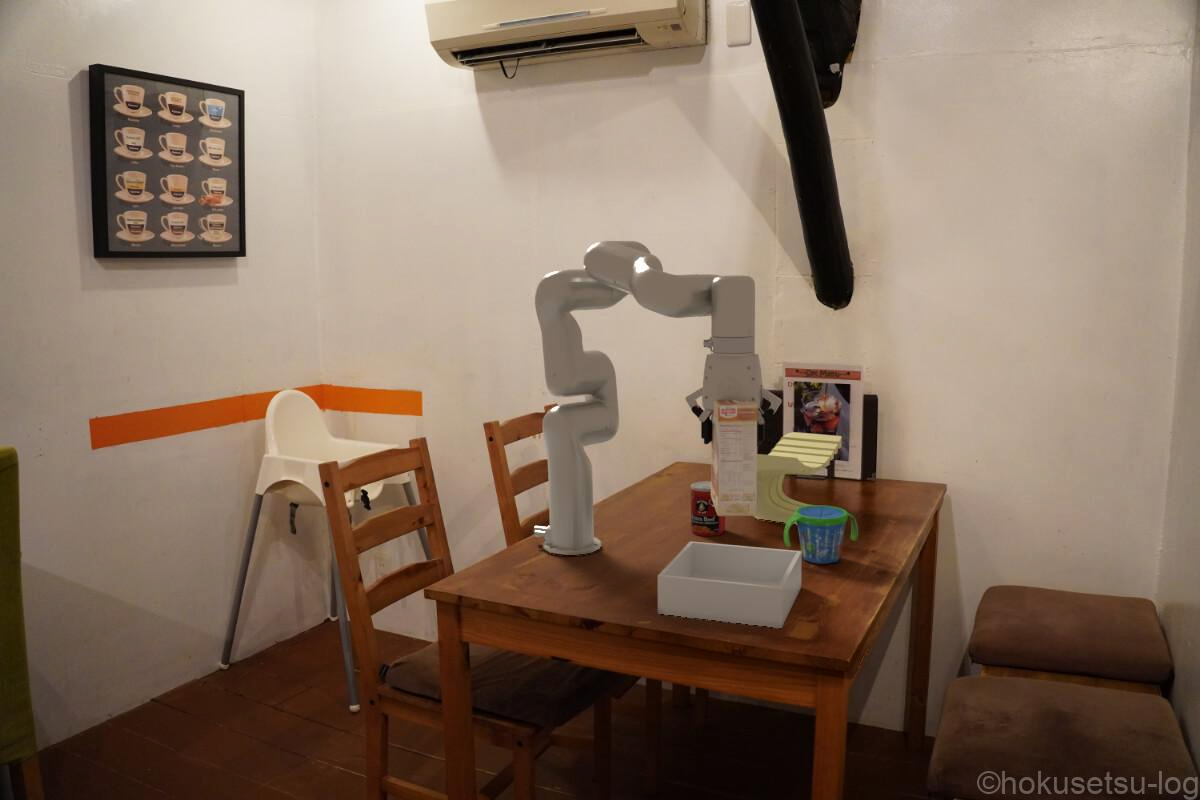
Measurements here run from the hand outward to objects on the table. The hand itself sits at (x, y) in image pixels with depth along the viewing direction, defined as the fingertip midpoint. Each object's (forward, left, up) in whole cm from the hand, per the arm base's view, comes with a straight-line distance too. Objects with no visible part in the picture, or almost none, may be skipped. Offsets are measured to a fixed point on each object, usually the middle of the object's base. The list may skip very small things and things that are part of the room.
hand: (732, 443), depth 167 cm
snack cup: (+12, +29, -29) cm, 43 cm away
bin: (0, 0, -29) cm, 29 cm away
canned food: (-15, +42, -29) cm, 53 cm away
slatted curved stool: (0, +61, -29) cm, 68 cm away
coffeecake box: (0, 0, -11) cm, 11 cm away
